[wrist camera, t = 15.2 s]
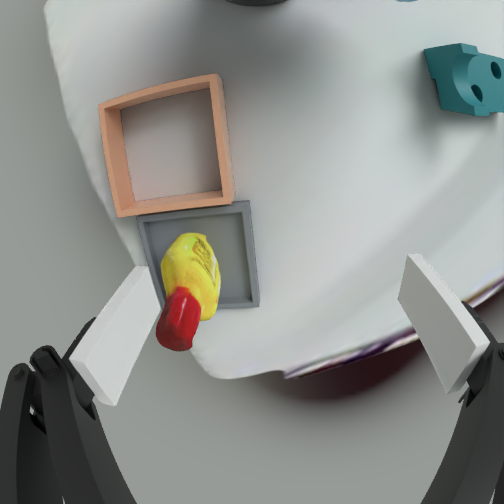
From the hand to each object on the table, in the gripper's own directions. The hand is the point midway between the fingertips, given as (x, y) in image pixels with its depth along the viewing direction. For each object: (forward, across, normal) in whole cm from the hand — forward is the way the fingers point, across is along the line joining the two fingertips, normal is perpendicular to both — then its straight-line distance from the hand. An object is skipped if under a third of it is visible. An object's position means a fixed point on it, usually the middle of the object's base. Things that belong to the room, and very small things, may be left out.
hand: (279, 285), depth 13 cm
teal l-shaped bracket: (+31, +37, +19) cm, 51 cm away
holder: (+29, -15, +6) cm, 33 cm away
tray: (+29, -13, -13) cm, 34 cm away
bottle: (+28, -12, -13) cm, 33 cm away
